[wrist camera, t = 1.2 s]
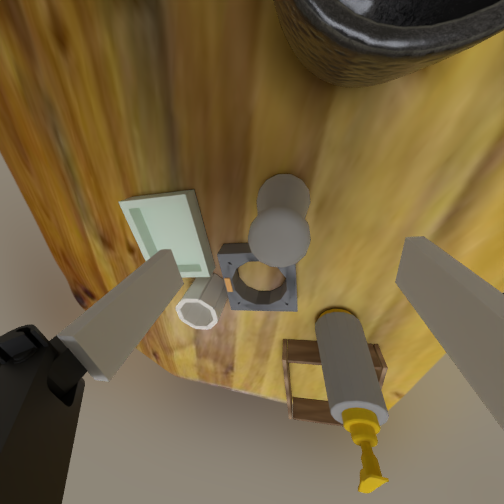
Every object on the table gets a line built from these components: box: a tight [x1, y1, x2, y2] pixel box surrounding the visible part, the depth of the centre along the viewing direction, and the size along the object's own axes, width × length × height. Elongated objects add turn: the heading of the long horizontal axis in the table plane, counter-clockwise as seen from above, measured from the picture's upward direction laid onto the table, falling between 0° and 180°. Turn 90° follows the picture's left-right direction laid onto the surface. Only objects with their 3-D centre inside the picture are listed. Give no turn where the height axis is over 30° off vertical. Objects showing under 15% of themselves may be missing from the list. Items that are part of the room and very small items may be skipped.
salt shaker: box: [248, 174, 311, 268], centre depth 19 cm, size 6×6×13 cm
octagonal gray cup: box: [175, 273, 228, 329], centre depth 31 cm, size 6×6×6 cm
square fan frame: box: [217, 243, 298, 312], centre depth 29 cm, size 10×10×3 cm
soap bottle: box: [315, 309, 389, 493], centre depth 25 cm, size 7×7×18 cm
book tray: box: [282, 339, 388, 426], centre depth 38 cm, size 21×16×4 cm
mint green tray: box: [119, 190, 216, 277], centre depth 28 cm, size 12×10×2 cm
